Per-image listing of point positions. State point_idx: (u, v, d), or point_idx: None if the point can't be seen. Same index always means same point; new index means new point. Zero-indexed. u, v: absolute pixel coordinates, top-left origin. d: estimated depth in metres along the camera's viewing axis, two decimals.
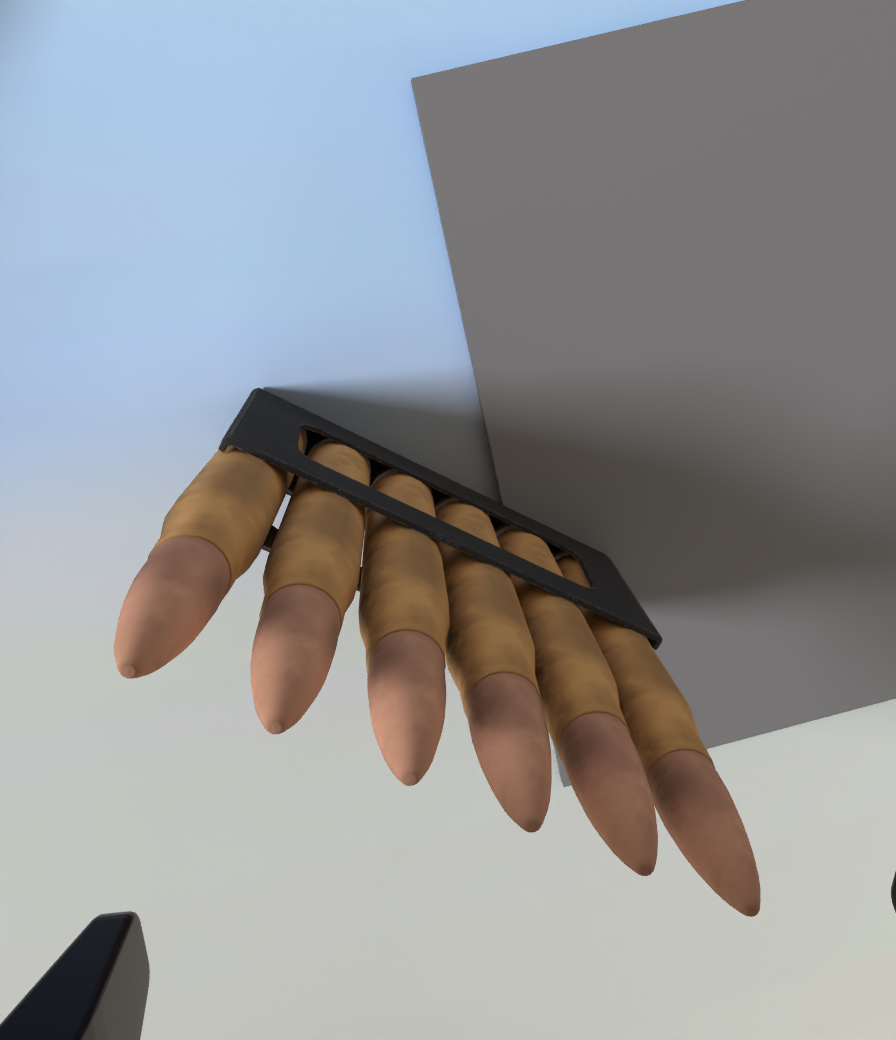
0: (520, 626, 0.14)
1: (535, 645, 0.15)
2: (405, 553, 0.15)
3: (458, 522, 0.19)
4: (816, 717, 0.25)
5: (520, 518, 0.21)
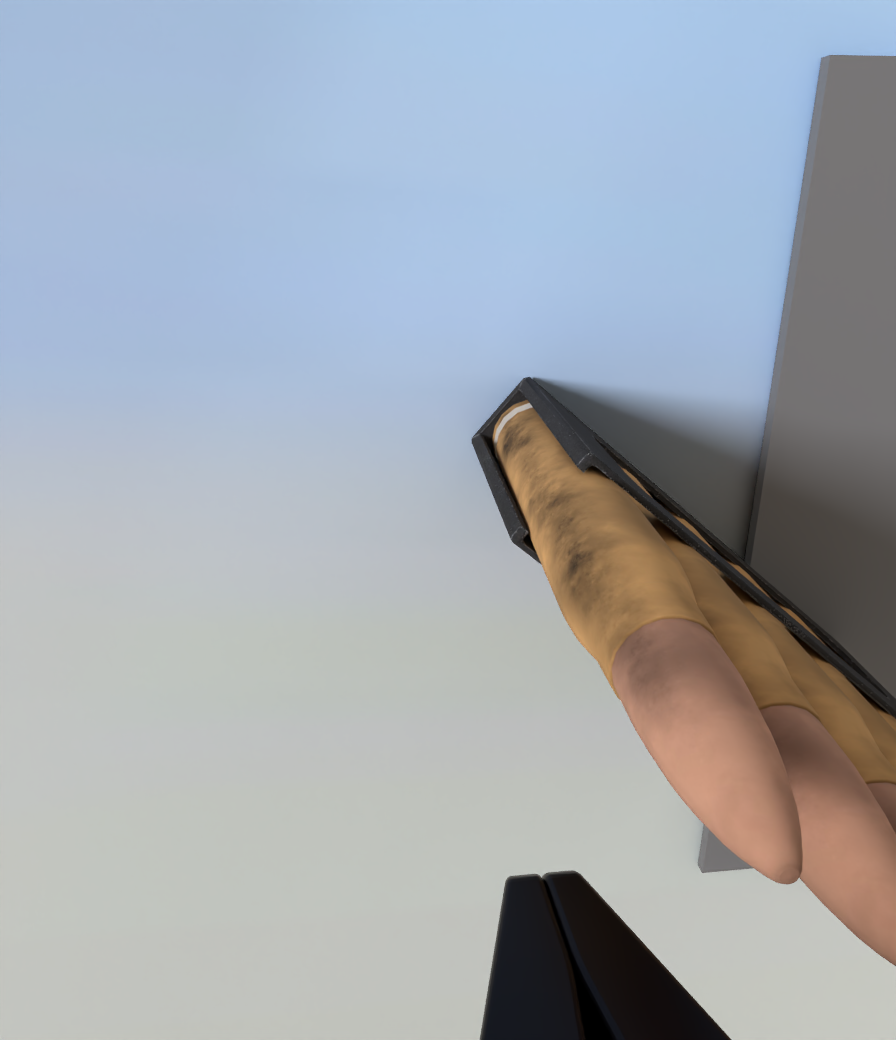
0: None
1: None
2: (791, 647, 0.12)
3: None
4: None
5: (772, 587, 0.18)
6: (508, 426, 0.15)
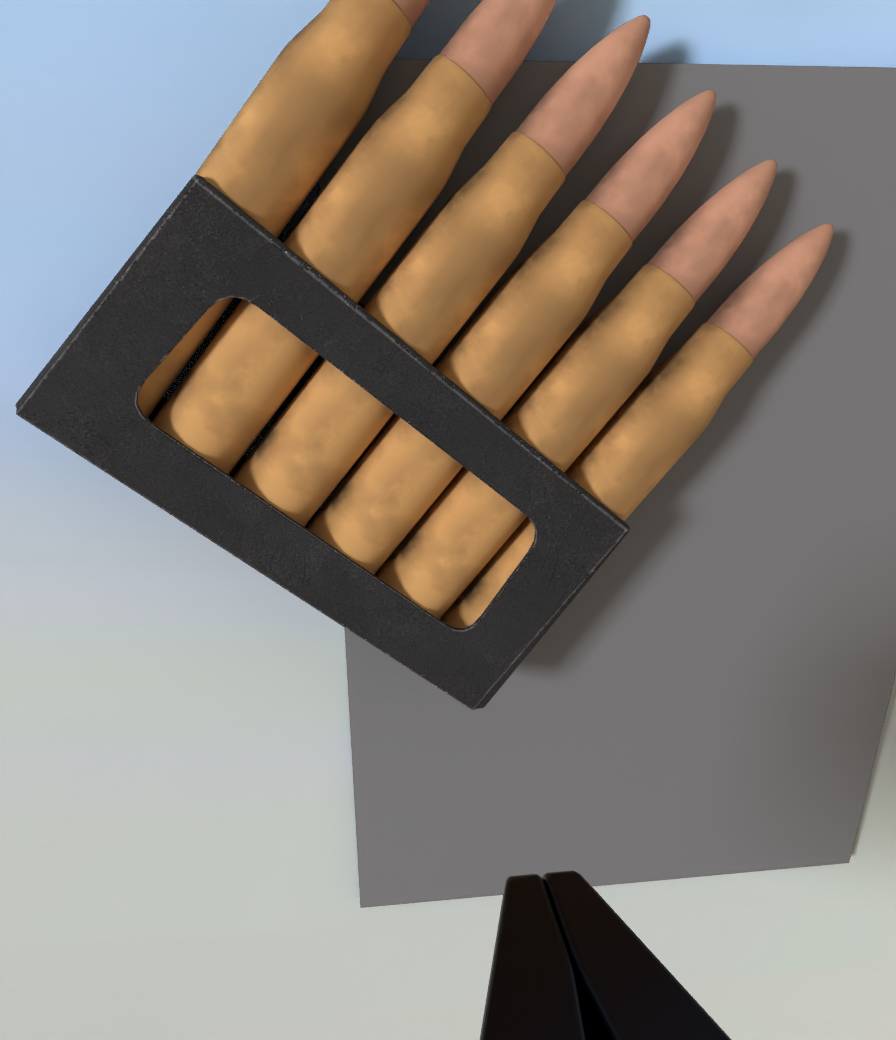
0: None
1: (556, 355, 0.16)
2: None
3: None
4: (656, 877, 0.22)
5: None
6: None
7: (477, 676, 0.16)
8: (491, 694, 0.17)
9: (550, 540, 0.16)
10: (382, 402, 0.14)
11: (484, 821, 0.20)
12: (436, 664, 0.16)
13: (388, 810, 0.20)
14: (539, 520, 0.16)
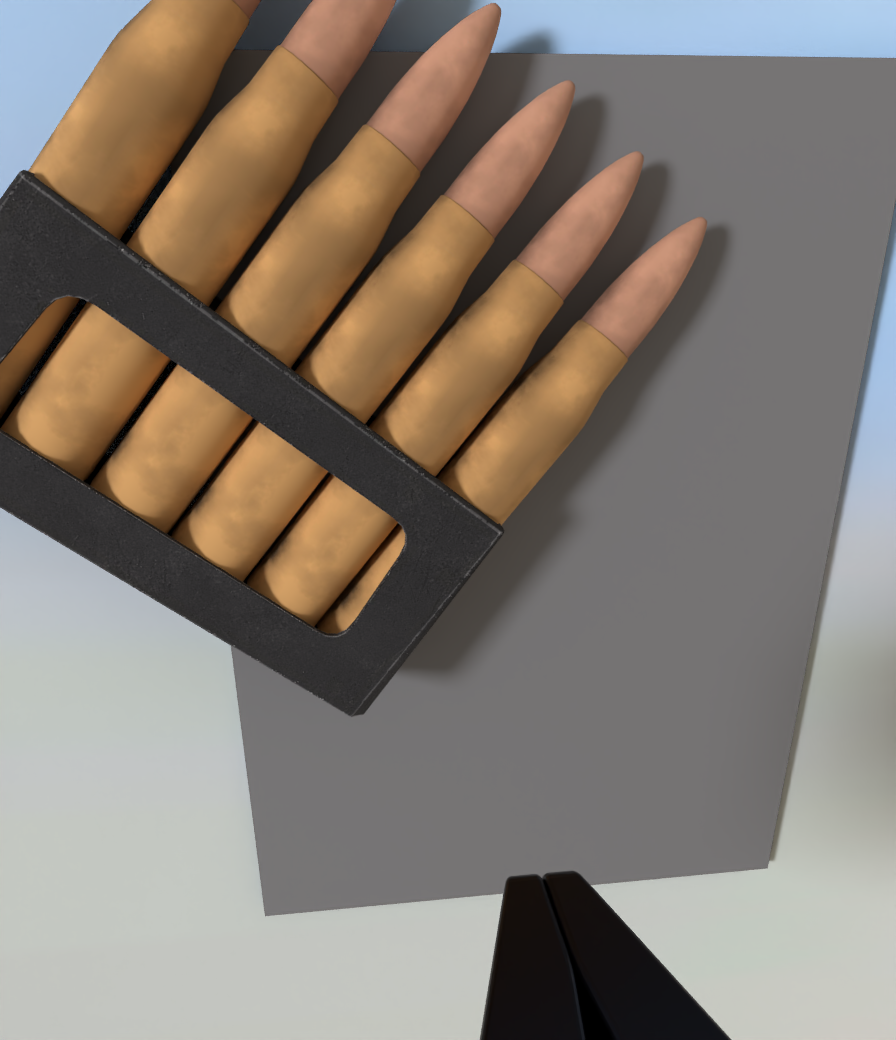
0: None
1: None
2: None
3: None
4: None
5: None
6: None
7: (354, 682, 0.16)
8: (370, 700, 0.16)
9: (421, 543, 0.15)
10: (235, 403, 0.14)
11: (387, 828, 0.20)
12: (310, 670, 0.16)
13: (287, 817, 0.20)
14: (409, 523, 0.15)
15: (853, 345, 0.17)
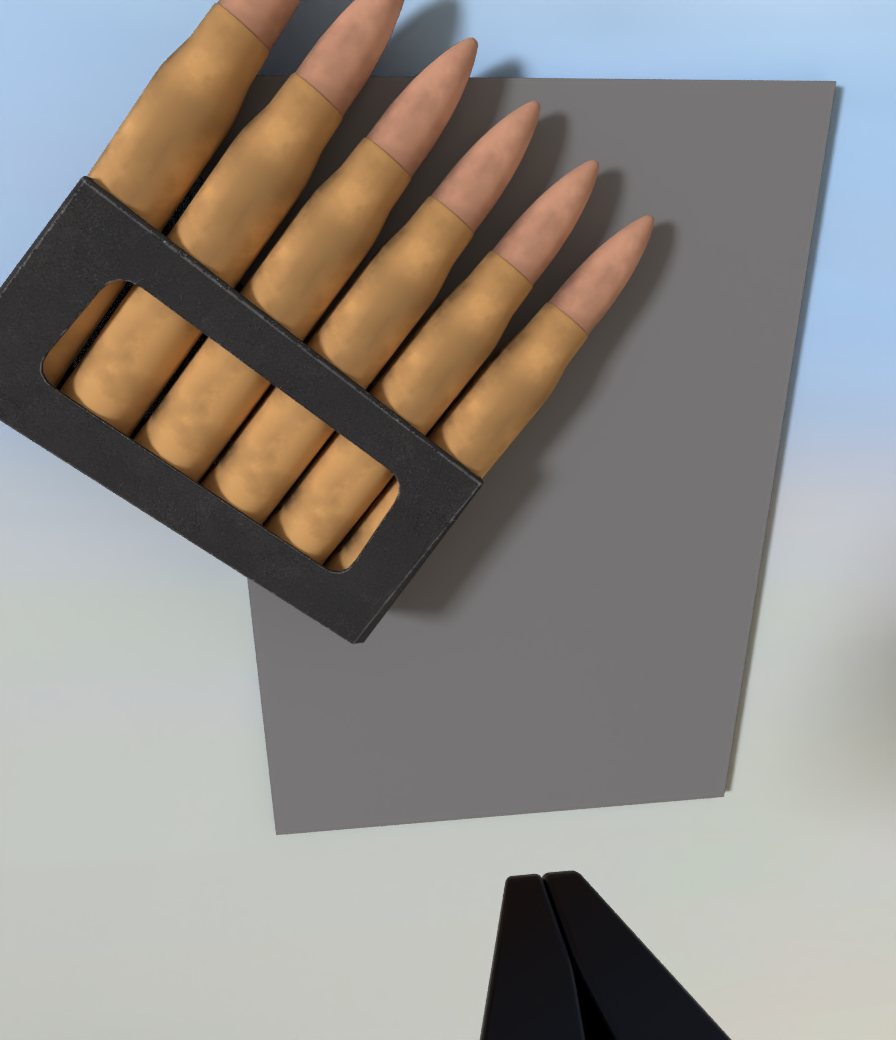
0: None
1: None
2: None
3: None
4: (547, 809, 0.24)
5: None
6: None
7: (355, 614, 0.19)
8: (369, 630, 0.19)
9: (412, 492, 0.18)
10: (256, 370, 0.17)
11: (384, 755, 0.23)
12: (317, 602, 0.18)
13: (296, 744, 0.22)
14: (402, 474, 0.18)
15: (785, 325, 0.19)
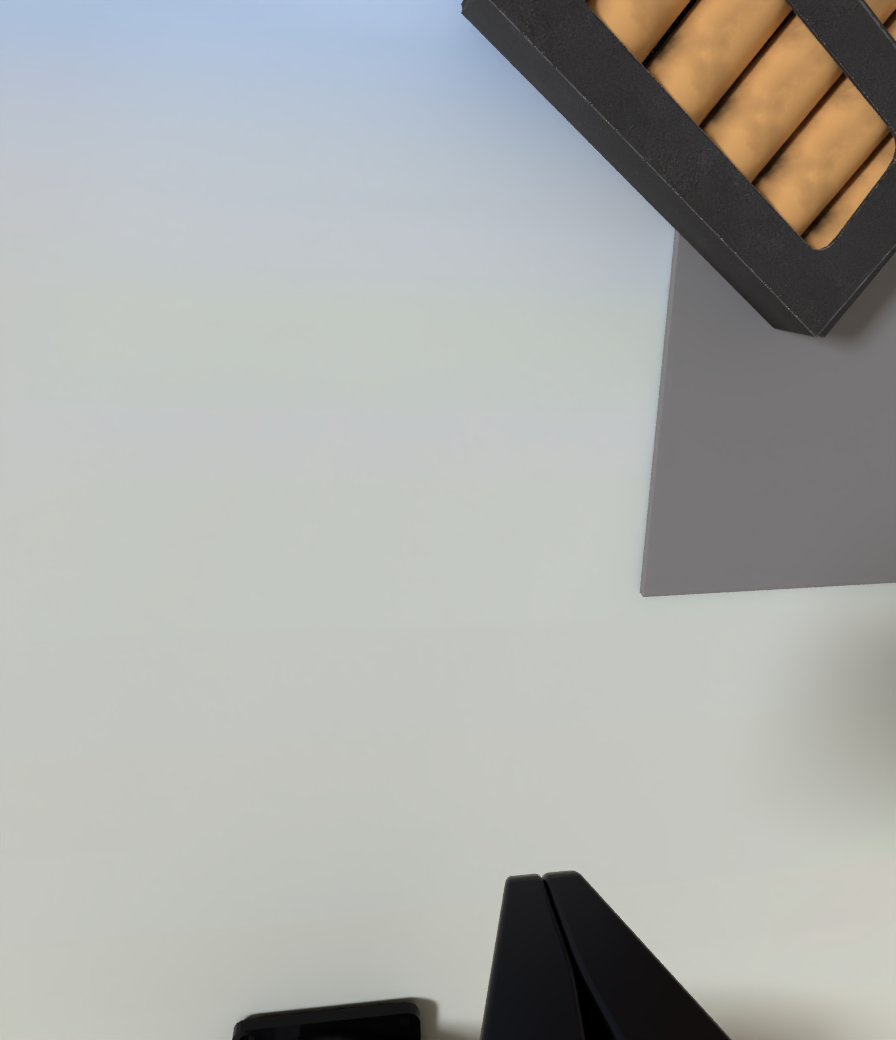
0: None
1: None
2: None
3: None
4: None
5: None
6: None
7: (825, 300, 0.18)
8: (834, 321, 0.18)
9: None
10: None
11: (767, 507, 0.22)
12: (792, 284, 0.18)
13: (684, 489, 0.21)
14: None
15: None
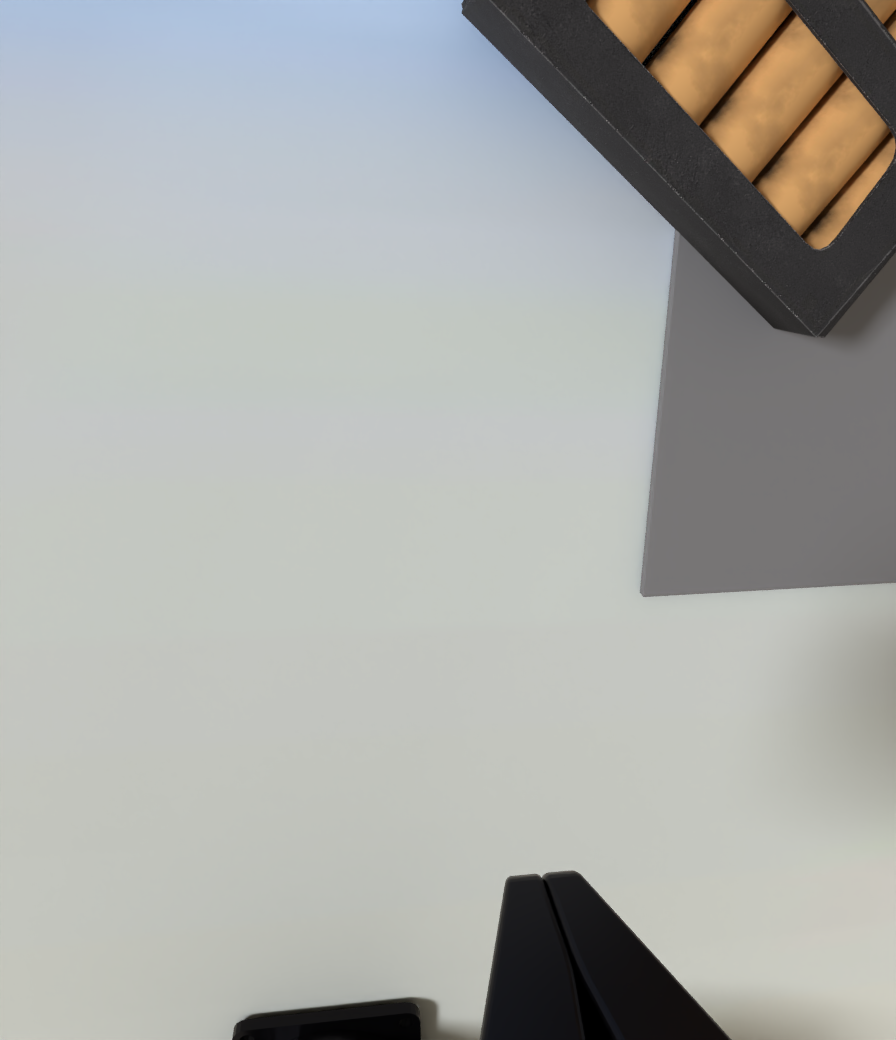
0: None
1: None
2: None
3: None
4: None
5: None
6: None
7: (826, 301, 0.18)
8: (834, 322, 0.18)
9: None
10: None
11: (767, 507, 0.22)
12: (792, 284, 0.18)
13: (684, 489, 0.21)
14: None
15: None
